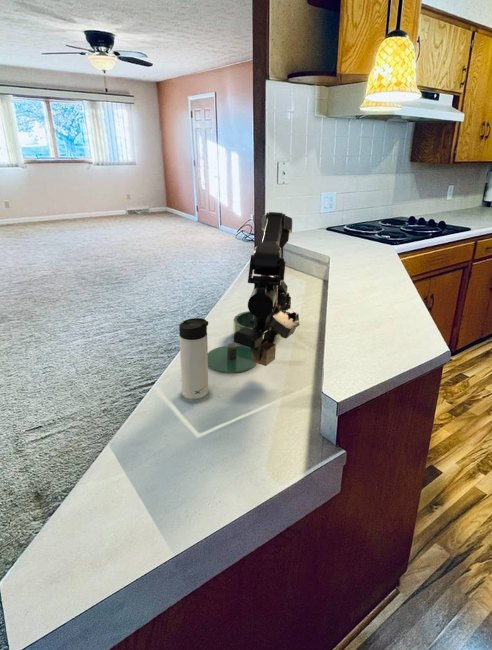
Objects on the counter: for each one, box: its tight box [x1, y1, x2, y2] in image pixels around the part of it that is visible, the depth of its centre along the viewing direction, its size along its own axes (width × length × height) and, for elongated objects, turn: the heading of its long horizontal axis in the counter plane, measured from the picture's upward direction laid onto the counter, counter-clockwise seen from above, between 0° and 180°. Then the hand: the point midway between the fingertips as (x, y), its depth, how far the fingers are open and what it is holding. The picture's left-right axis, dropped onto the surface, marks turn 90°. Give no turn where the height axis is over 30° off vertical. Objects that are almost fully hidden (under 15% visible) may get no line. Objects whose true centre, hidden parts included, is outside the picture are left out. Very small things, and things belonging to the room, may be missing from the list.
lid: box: [208, 342, 258, 374], centre depth 115 cm, size 15×15×5 cm
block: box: [252, 341, 277, 367], centre depth 106 cm, size 4×4×4 cm
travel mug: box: [178, 317, 209, 402], centre depth 96 cm, size 6×7×20 cm
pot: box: [232, 310, 279, 342], centre depth 129 cm, size 14×14×6 cm
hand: (263, 356), depth 106 cm, fingers closed on block, 4 cm apart
